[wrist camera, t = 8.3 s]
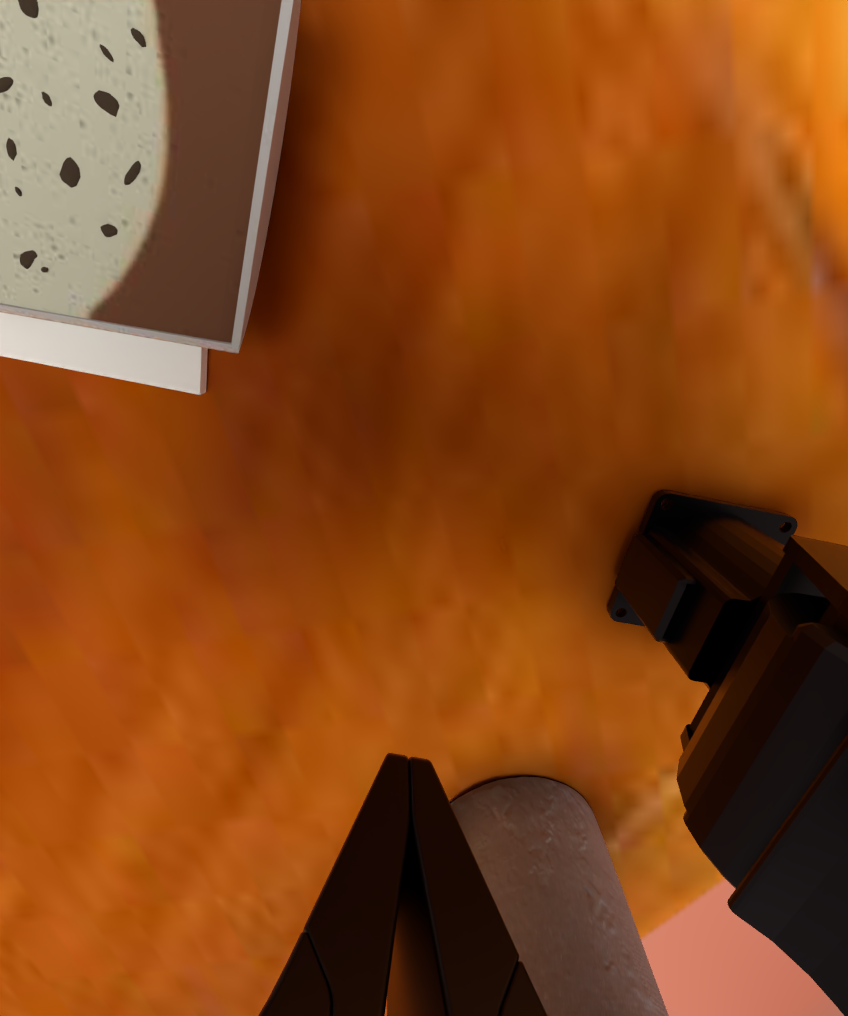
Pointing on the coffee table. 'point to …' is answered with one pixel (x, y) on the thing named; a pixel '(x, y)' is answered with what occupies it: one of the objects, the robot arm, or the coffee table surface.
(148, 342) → the white flat rectangular board
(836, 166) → the coffee table surface
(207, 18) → the food container
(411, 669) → the coffee table surface
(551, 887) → the pillar candle
